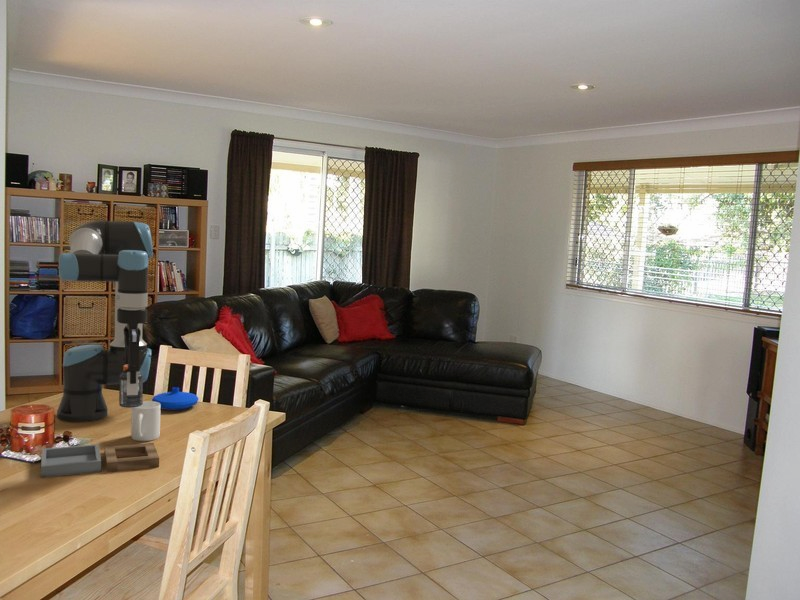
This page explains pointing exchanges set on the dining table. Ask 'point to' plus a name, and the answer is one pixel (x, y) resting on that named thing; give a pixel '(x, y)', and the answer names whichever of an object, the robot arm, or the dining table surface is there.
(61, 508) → the dining table surface
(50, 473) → the tray
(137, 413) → the mug
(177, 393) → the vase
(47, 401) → the dining table surface
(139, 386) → the pill bottle
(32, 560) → the dining table surface
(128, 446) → the socket frame
